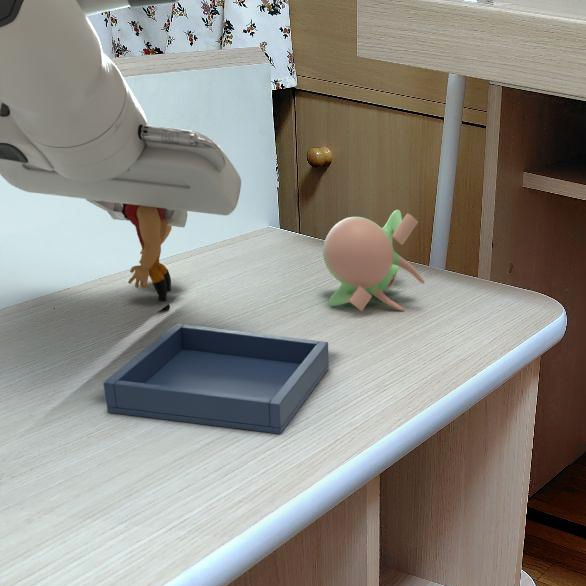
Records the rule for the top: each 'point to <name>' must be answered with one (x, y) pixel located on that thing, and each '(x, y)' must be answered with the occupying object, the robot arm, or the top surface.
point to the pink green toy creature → (366, 258)
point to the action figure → (150, 248)
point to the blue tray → (219, 378)
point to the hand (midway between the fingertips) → (151, 216)
